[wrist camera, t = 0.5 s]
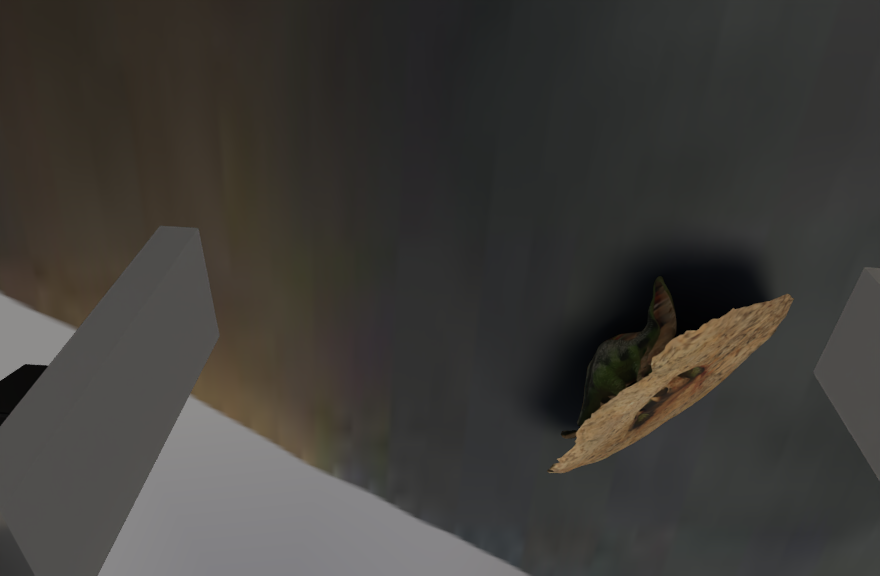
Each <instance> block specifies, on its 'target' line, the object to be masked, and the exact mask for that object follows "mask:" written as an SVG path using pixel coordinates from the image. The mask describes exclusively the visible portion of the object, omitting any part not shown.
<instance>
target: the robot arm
mask: <svg viewBox="0 0 880 576" xmlns="http://www.w3.org/2000/svg"><path fill="white" fill-rule="evenodd" d="M218 338H219V331H218V326H217V321H216V316H215V311H214V306H213V301H212V295H211V290H210V285H209V280H208V275H207V270H206V265H205V260H204V255H203V249H202V244H201V239H200V234H199V229H198V228H187V227H170V226H160V227H159V228H158V229H157V230H156V232H155V233H154V234H153V236H152V237H151V238H150V239H149V241H148V242H147V243H146V244H145V246H144V247H143V248H142V249H141V251H140V252H139V253H138V254H137V256H136V257H135V258H134V259H133V261H132V262H131V263H130V264H129V266H128V267H127V268H126V269H125V271H124V272H123V273H122V274H121V276H120V277H119V278H118V279H117V281H116V282H115V283H114V284H113V286H112V287H111V288H110V289H109V291H108V292H107V293H106V294H105V296H104V297H103V298H102V299H101V301H100V302H99V303H98V304H97V306H96V307H95V308H94V309H93V311H92V312H91V313H90V314H89V316H88V317H87V318H86V319H85V321H84V322H83V323H82V324H81V326H80V327H79V328H78V330H77V331H76V332H75V333H74V335H73V336H72V337H71V339H70V340H69V341H68V342H67V343H66V345H65V346H64V347H63V348H62V350H61V351H60V352H59V353H58V355H57V356H56V357H55V358H54V360H53V361H52V362H51V363H50V365H49V366H46V365H30V364H28V365H27V364H25V365H23V366H22V367H20V368H19V369H17V370H16V371H14V372H13V373H11V374H10V375H8V376H7V377H6V378H4V379H2V380H1V381H0V576H97V575H98V573H99V572H100V570H101V568H102V566H103V564H104V562H105V560H106V558H107V556H108V554H109V552H110V550H111V548H112V546H113V544H114V542H115V540H116V538H117V536H118V534H119V532H120V530H121V528H122V526H123V524H124V522H125V521H126V518H127V517H128V515H129V513H130V511H131V509H132V507H133V505H134V503H135V501H136V499H137V497H138V495H139V493H140V491H141V489H142V487H143V485H144V483H145V481H146V479H147V477H148V475H149V473H150V471H151V469H152V467H153V465H154V464H155V462H156V460H157V458H158V456H159V454H160V452H161V449H162V448H163V446H164V444H165V442H166V440H167V438H168V436H169V434H170V432H171V430H172V428H173V426H174V424H175V422H176V420H177V418H178V416H179V414H180V412H181V410H182V408H183V406H184V405H185V403H186V401H187V398H188V397H189V395H190V393H191V391H192V389H193V387H194V385H195V383H196V381H197V379H198V377H199V375H200V373H201V371H202V369H203V367H204V365H205V363H206V361H207V359H208V357H209V355H210V353H211V351H212V350H213V348H214V346H215V344H216V342H217V340H218ZM813 373H814V375H815V377H816V378H817V380H818V381H819V383H820V385H821V386H822V388H823V390H824V391H825V393H826V394H827V396H828V398H829V399H830V401H831V403H832V404H833V406H834V407H835V409H836V411H837V412H838V414H839V416H840V417H841V419H842V420H843V422H844V424H845V425H846V427H847V429H848V430H849V432H850V433H851V435H852V437H853V438H854V440H855V442H856V443H857V445H858V447H859V448H860V450H861V451H862V453H863V455H864V456H865V458H866V460H867V461H868V463H869V464H870V466H871V468H872V469H873V471H874V473H875V474H876V476H877V477H878V479H879V481H880V268H865V267H864V269H863V271H862V273H861V275H860V277H859V279H858V282H857V284H856V286H855V288H854V290H853V292H852V294H851V296H850V298H849V300H848V302H847V304H846V306H845V308H844V310H843V312H842V314H841V316H840V318H839V320H838V322H837V324H836V326H835V329H834V331H833V333H832V335H831V337H830V339H829V341H828V343H827V345H826V347H825V349H824V351H823V353H822V355H821V357H820V359H819V361H818V363H817V365H816V367H815V369H814V371H813Z"/></svg>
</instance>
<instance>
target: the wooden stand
mask: <svg viewBox="0 0 880 576" xmlns="http://www.w3.org/2000/svg"><path fill="white" fill-rule="evenodd" d="M793 299H794V298H791V296H790V295H789V294H786V295H783V296H781V297H779V298H776V299H774V300H771V301H766V302H762V303H756V304H753V305H751V306H748V307H742V308H739V309H734V308H733V309H732V310H731V311H729V312H728V313H727V314H726V315H724V316H722V317H720V318H719V319H712V320H710V321H709V322H708V323H707V324H703V325H702V326H701V327H700V328H699V329H698V330H697V331H695V330H692V331H686V332H685V334H684V335H679V336H678V337H676V338H674V337H675V334H676V325H677V323H676V314H675V309H674V304H673V300H672V296H671V294H670V292H669V290H668V288H667V286H666V285H665V283H664V280H663V278H662V277H661V276H659V277H657V278H656V280H655V282H654V285H653V299H652V301H651V304H650V306H649V309H648V320H647V325H646V327H645V329H643V330H642V331H641V332H635V333H625V334H620V335H617V336H614V337H612V338H610V339H608V340H606V341H604V342H603V343H601V345H600V346H599V347H598V349H597V351H596V353H595V355H594V357H593V359H592V360H591V362H590V364H589V366H588V367H587V377H586V382H585V388H584V399H583V406H582V409H581V412H580V416H579V419H578V421H577V424H578V426H581V427H580V428H579V430H578V431H576V430H572V431H562V433H561V435H562V437H563V438H575V437H576V436H577V439H576V441H575V442H576V443H577V444H576V445H575V446H574V447H573V448H572V449H571V450H570V451H569V452H567V453H566V454H565V455H564V456H563V457H562V458H559V459H557V460H558V461H560V463H556V464H553V465H552V466H551V468H550V470H548V471H547V472H549V473H565V472H568V471H570V470H572V469H574V468H577V467H580V466H582V465H586V464H590V463H594V462H597V461H600V460H602V459H605V458H607V457H608V456H610V455H611V454H613V453H616V452H618V451H619V450H621V449H623V448H625V447H627V446H629V445H630V444H633V443H635V442H636V441H638V440H640V439H641V438H643V437H644V436H646V435H647V434H649V433H650V432H652V431H653V430H655V429H656V428H657V427H658V426H660V425H661V424H663V423H664V422H666V421H667V420H669V419H671V418H672V417H674V416H676V415H677V414H679V413H681V412H682V411H684V410H685V409H686V408H688V407H690V406H691V405H693V404H694V403H695V402H697V401H698V400H699V399H701V398H702V397H704V396H705V395H706V394H707V393H708V392H710V391H711V390H712V389H713V388H715V387H716V386H717V385H718V384H719V383H721V382H722V381H723V380H724V379H725V378H726V377H728V376H729V375H730V374H731V373H732V372H733V371H734V370H735V369H736V368H737V367H738V366H739V365H740V364H741V363H742V362H743V361H744V360H745V359H746V358H747V357H748V356H749V355H750V354H751V353H753V352H754V351H755V350H756V349H757V348H758V347H759V346H761V345H762V344H763V343H764V342H765V341H766V340H768V339H769V338H770V337H771V336H772V335H773V333H774V332H775V331H776V329H777V327H778V325H779V324H780V322H781V321H782V320H783V319H784V318H785V317H786V314H787V313H788V310H789V307H790V305H791V303H792V301H793Z"/></svg>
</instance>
